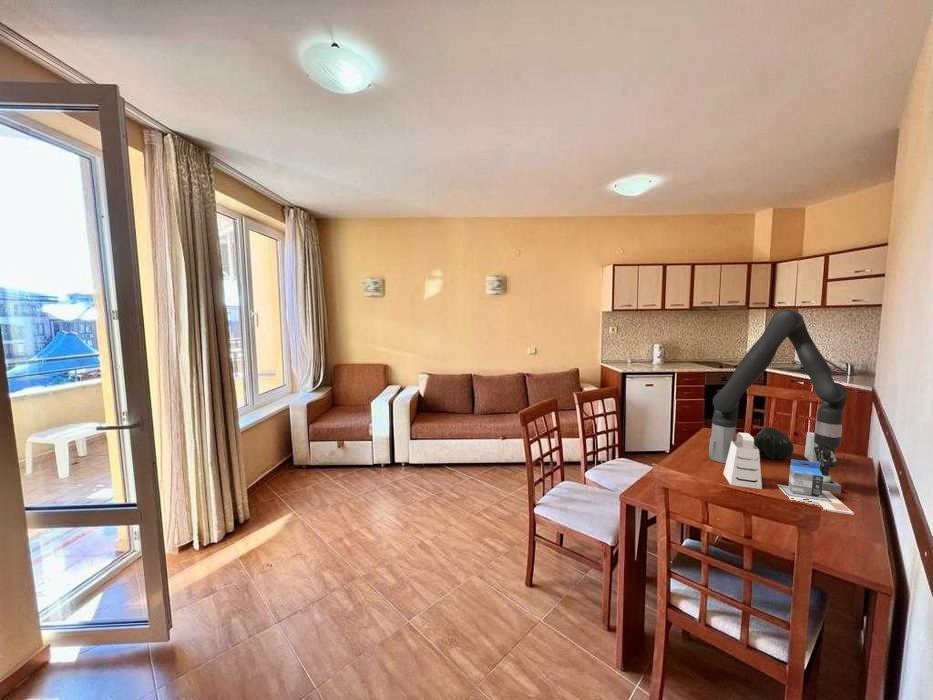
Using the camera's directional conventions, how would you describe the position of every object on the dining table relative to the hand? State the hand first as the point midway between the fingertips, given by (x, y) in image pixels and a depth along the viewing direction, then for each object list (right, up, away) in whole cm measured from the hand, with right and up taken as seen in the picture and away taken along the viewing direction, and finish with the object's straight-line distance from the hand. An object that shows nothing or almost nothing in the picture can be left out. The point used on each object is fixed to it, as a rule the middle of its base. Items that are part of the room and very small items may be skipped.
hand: (823, 474), depth 145 cm
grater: (-28, -5, +6) cm, 29 cm away
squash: (+4, -2, +30) cm, 30 cm away
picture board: (-12, -6, -8) cm, 16 cm away
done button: (0, -4, +1) cm, 4 cm away
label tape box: (-13, -6, -5) cm, 15 cm away
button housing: (0, -5, +1) cm, 5 cm away
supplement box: (+21, -2, +24) cm, 32 cm away
